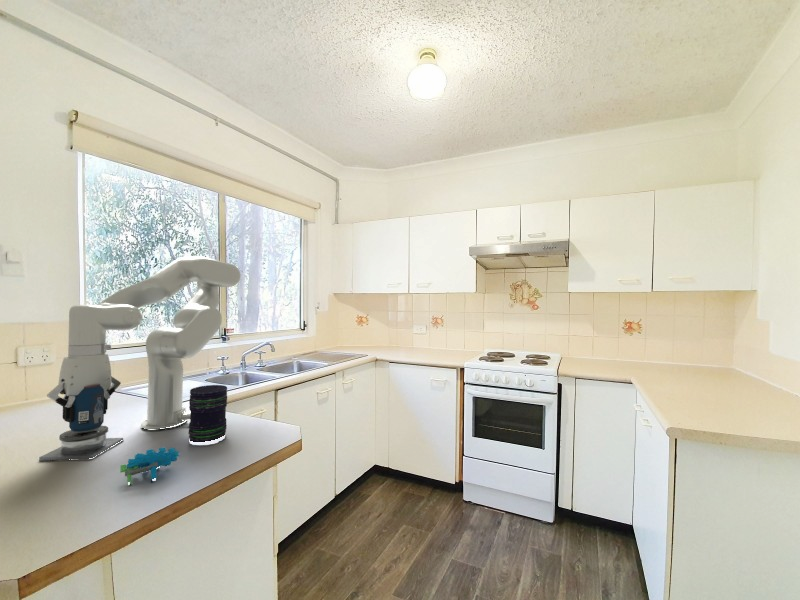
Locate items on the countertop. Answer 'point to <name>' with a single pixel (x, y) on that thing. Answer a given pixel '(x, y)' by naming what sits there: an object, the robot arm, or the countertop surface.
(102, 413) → the soda can
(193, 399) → the storage jar
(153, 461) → the blue toy dinosaur
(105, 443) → the puck on square plate
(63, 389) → the robot arm
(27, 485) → the countertop surface
